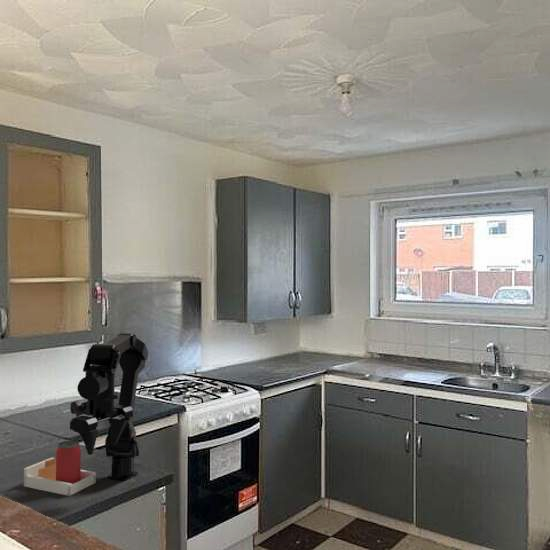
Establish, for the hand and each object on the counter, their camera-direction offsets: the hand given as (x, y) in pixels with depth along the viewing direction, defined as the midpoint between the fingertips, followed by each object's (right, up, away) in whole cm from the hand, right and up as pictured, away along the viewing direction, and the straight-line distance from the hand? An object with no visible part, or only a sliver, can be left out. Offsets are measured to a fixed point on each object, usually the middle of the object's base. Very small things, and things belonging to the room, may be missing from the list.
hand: (102, 449), depth 151 cm
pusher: (-18, -13, +11) cm, 25 cm away
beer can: (-12, -13, +8) cm, 20 cm away
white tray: (-15, -13, +10) cm, 22 cm away
